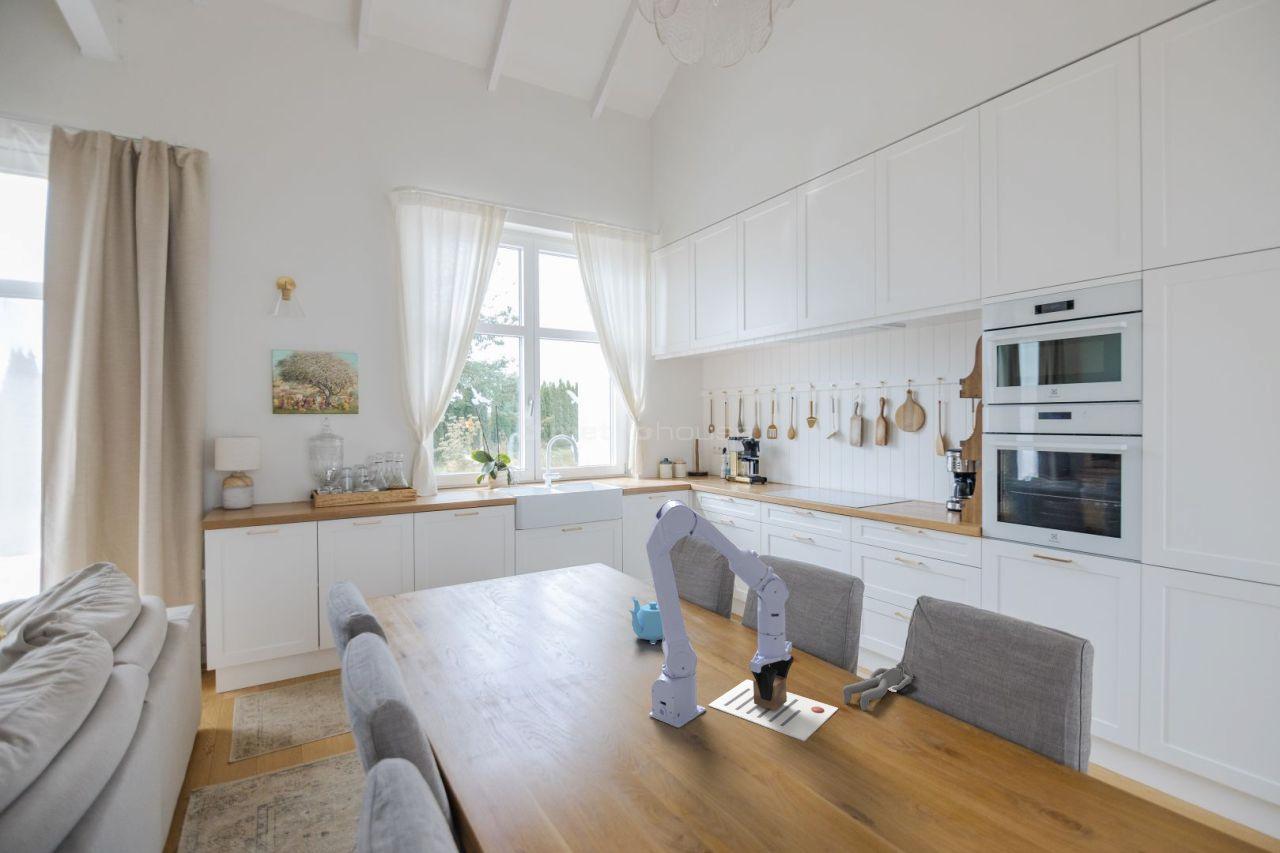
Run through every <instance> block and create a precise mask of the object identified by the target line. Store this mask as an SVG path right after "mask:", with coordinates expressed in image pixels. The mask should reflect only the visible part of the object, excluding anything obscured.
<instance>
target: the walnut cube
mask: <svg viewBox="0 0 1280 853" xmlns="http://www.w3.org/2000/svg"><path fill="white" fill-rule="evenodd" d="M752 681H753V689H754V704H757V705H760V706H763V707H766V708H769V709H772V710H776V709H778V708H779V707H780V706H782V705H783V704H784V703H785V702H787V695H786V692H787V679H786V678H784V677H781V676H777V675H776V676H775V679H774V684H773V693H772V698H771V701H767V700H764V699H761V696H760V692H759V688H758V685H757V682H756V679H755V678H754V679H752Z"/></svg>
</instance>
